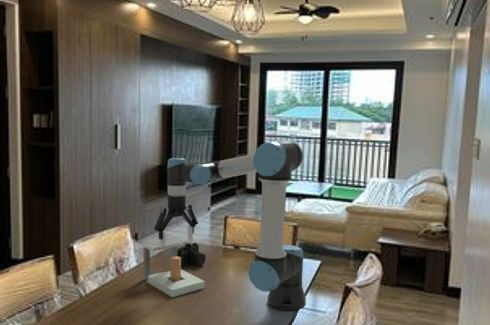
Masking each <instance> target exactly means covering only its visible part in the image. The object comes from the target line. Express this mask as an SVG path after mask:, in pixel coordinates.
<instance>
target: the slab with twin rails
mask: <svg viewBox="0 0 490 325" xmlns="http://www.w3.org/2000/svg"><path fill="white" fill-rule="evenodd" d="M142 246H143V247H142V248H143V250H142V251H143V269H142V270H143V273H142V274H143V275H142V276H143V278H142V279H143V281H145V282H148V276H149V275H150V274H151V273H150V270H151V269H150V268H151V267H150V266H151V261H150V260H151V258H150V257H151V256H150V255H151V254H150V253H151V252H156V251H161V250H164V249H165V250H166V249H170V258H171V257H175V256H177V251H178V247H180V246H181V247H182V246H185V242H184V241H183V240H180V239H177V238H169V239H165V247H164V248H163V247H161V246H160V240H158V241H154V242H149V243H148V242H147V243H143V245H142Z"/></svg>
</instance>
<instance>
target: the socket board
mask: <svg viewBox="0 0 490 325" xmlns="http://www.w3.org/2000/svg"><path fill="white" fill-rule="evenodd" d="M147 283H148V284H149V285H151V286H153V287H154V288H156V289H157V290H160V291H161V292H163V293H164V294H166V295H168V296H169V297H171V298H175V297H178V296H181V295H185V294H189V293H193V292H196V291H199V290H203V289H205V283H206V282H205V281H204V279H201V278H199V277H197V276H195V275H193V274H191V273H190V272H187V271H185V270H183V269H182V268H181V280H180V281H176V282H172V281H171V280H170V270H166V271H163V272H162V271H161V272H158V273H154V274H151V275H149V276H148V281H147Z"/></svg>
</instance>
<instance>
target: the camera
mask: <svg viewBox="0 0 490 325" xmlns="http://www.w3.org/2000/svg"><path fill="white" fill-rule="evenodd" d="M191 243H192V242H187V243H184V245H181V247H179V248H177V257H181V269H182V268H184V267H186V266H187V267H188V266H198V267H202V266H203V265H205V262H206V260H207V259H206V258H207V257H206V255H205V253H202V252H200V250H199V249H200V248H199V246H200V245H198V243H197V242H194V241H193V243H192V244H191Z"/></svg>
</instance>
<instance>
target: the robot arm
mask: <svg viewBox="0 0 490 325" xmlns="http://www.w3.org/2000/svg"><path fill="white" fill-rule="evenodd" d="M303 160H304V152H303V149H302V147H300V145H299V144H297V142H294V141H292V140H277V141H275V140H273V141H267V142H264V143H262V144H260V145H259V146H258V148H256V150H255V152H254V153H252V154H251V153H250V154H247V155H246V154H245V155H241V156H237V157H233V158H228V159H223V160H222V159H221V160H218V161H213V162H207V163H206V162H205V163H198V164H196V163H195V164H193V163H191V164H189V163H187V162H186V158H184V157H172V158H169V159H168V160H167V168H166V170H167V194H168V195H167V207H163V206H162V207H161V208H160V213H159V216H158V218H157V221H156V223H155V225H154V228H153V230H154V231H157V232H158V239H159V241H160V246H161V247H163V248H164V247H165V240H166V231H165V229H166V228H167V227H168V225H169V223H171V220H173V218H177V217H182V218H183V219H184V220H185V222H186V223H187V224H188V226H187V241H188V242H189V243H192V242H193V243H194V240H193V234H194V233H195V227H196V226H197V225H198V224H199V222H198V219H197V217H196V216H195V213H194V210H193V205H192V204H189V203H186V193H187V192H186V191H187V190H186V186H187V184H186V183H190V184H196V185H204V184H207V183H208V182H210V181H214V180H215V181H217V180H221V179H226V178H231V177H236V176H242V175H248V174H254V173H258V177H257V178H258V180H259V182H261V185H262V186H261V205H260V206H261V207H260V225H259V226H260V228H259V231H260V232H259V247H258V248H257V249H255V251H254V261H252V263H250V264H249V266H248V272H247V273H248V278H249V281H250V282H251V284H252V285H253V287H254V288H256V289H257V290H259V291H261V292H266V293H267V292H269V293H268V295H267V304H268V305H269V306H270V307H271V308H273V309H276V310H279V311H287V312H293V311H299V310H302V309H304V308H305V307H306V304H307V297H306V295H305V292H304V287H303V271H304V269H303V268H304V251H303V249H302V248H301V247H299V246H295V245H291V244H284V233H285V232H284V231H285V216H286V215H285V214H286V213H285V212H286V193H287V192H286V191H287V184H288V183H289V182H291V179H292V172H293V171H295V170H297V169H298V168H299V167H300V166H301V164H302V163H303ZM185 211H186V212H187V213H186V212H185Z"/></svg>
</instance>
